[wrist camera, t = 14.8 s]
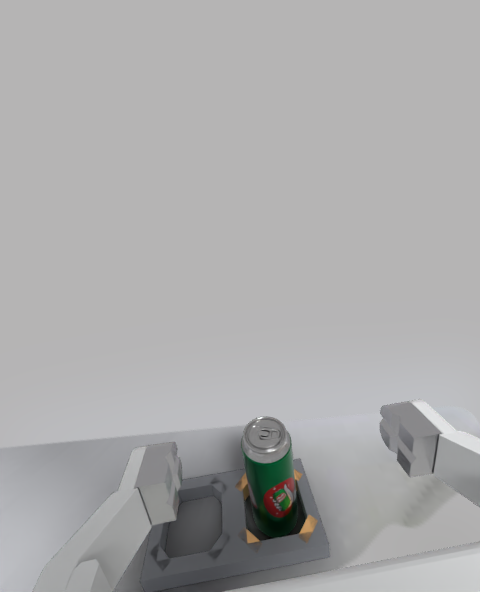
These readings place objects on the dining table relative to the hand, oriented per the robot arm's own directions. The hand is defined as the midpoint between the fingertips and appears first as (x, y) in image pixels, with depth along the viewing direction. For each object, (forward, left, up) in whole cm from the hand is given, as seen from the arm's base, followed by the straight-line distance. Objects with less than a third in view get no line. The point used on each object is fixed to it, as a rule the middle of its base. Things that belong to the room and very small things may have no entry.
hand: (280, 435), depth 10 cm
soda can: (0, +12, -25) cm, 28 cm away
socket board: (-4, +12, -25) cm, 28 cm away
